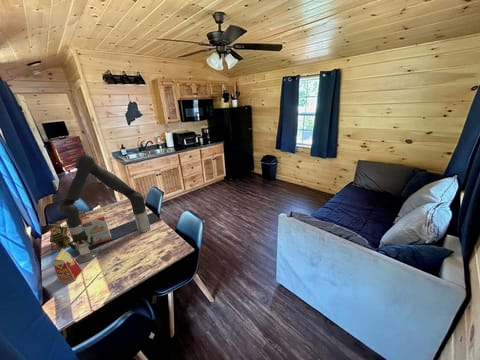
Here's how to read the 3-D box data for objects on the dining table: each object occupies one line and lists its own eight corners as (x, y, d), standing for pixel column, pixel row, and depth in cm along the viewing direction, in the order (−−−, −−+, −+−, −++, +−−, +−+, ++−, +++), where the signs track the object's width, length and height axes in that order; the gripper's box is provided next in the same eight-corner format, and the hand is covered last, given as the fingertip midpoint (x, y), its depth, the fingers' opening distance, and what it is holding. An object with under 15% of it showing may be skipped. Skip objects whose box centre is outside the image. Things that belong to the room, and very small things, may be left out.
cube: (90, 248, 143) (88, 242, 141) (89, 252, 139) (87, 246, 137) (82, 250, 141) (79, 245, 139) (80, 255, 137) (78, 249, 135)
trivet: (98, 248, 149) (98, 247, 149) (97, 258, 139) (96, 257, 139) (78, 254, 144) (78, 253, 144) (75, 265, 134) (75, 264, 134)
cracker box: (90, 246, 151) (81, 223, 143) (90, 242, 156) (81, 219, 148) (111, 239, 158) (104, 216, 150) (111, 235, 163) (103, 213, 155)
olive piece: (56, 241, 159) (46, 220, 151) (71, 236, 164) (62, 215, 157) (54, 255, 144) (42, 232, 136) (71, 249, 149) (61, 227, 142)
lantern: (92, 218, 170) (81, 208, 188) (78, 223, 164) (68, 212, 181) (95, 228, 174) (84, 217, 192) (82, 233, 167) (72, 222, 185)
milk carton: (68, 272, 129) (56, 246, 121) (83, 270, 129) (72, 245, 122) (57, 284, 120) (44, 257, 113) (74, 282, 121) (61, 256, 113)
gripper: (90, 224, 140) (98, 244, 146) (65, 231, 134) (73, 251, 140) (89, 230, 134) (97, 250, 140) (62, 237, 127) (71, 258, 134)
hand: (85, 251), depth 140 cm, fingers closed on cube, 5 cm apart
